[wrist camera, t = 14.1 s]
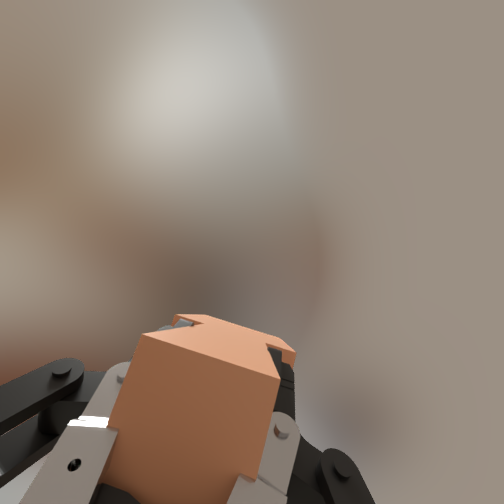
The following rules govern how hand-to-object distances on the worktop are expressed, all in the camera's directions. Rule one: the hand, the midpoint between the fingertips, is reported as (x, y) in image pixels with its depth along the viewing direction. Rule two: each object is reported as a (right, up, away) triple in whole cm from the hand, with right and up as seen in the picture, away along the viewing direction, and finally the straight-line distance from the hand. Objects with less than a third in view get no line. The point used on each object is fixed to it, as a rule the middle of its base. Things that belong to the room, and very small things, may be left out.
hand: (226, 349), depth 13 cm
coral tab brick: (-1, -4, +2) cm, 5 cm away
